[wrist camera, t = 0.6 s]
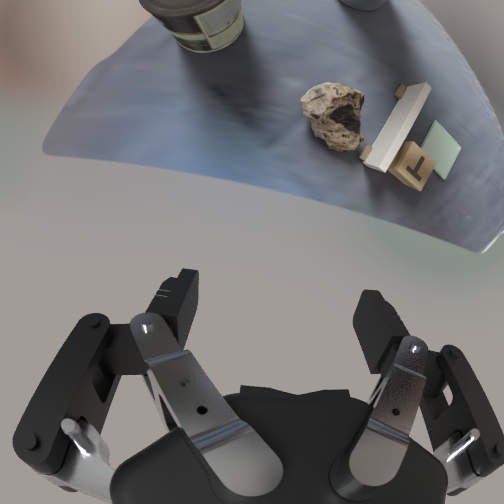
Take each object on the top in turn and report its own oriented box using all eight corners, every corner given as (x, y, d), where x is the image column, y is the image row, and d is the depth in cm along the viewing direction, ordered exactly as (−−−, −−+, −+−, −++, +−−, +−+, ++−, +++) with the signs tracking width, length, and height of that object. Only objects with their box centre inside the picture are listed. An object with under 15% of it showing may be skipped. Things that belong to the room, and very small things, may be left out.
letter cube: (397, 140, 34) (414, 141, 29) (419, 159, 35) (436, 163, 30) (382, 166, 36) (397, 170, 31) (404, 184, 37) (421, 191, 32)
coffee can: (178, 61, 30) (140, 29, 18) (171, 9, 26) (136, -33, 14) (250, 45, 30) (245, 1, 17) (238, -7, 26) (229, -59, 13)
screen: (400, 83, 30) (420, 77, 25) (415, 96, 31) (436, 92, 25) (356, 158, 36) (372, 162, 30) (373, 170, 36) (390, 177, 31)
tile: (434, 120, 32) (436, 120, 31) (459, 147, 33) (461, 147, 33) (416, 153, 34) (418, 153, 34) (442, 179, 36) (444, 179, 35)
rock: (385, 115, 31) (358, 66, 24) (379, 158, 31) (352, 111, 24) (331, 117, 37) (297, 76, 30) (322, 156, 37) (284, 117, 30)
